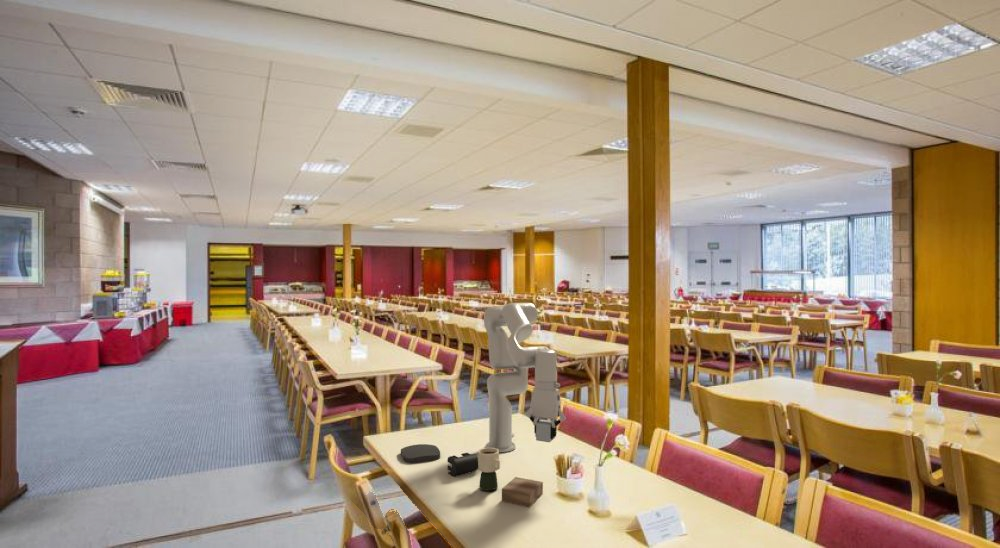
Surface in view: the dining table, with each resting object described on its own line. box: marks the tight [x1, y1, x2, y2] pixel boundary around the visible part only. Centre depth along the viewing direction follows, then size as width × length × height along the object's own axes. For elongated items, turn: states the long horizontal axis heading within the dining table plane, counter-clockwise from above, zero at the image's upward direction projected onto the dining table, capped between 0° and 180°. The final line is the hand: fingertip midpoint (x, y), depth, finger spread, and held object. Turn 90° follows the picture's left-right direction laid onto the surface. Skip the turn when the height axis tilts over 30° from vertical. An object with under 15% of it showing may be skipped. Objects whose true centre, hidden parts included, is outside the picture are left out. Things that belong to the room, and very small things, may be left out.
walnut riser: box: [501, 476, 544, 508], centre depth 174 cm, size 11×10×4 cm
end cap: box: [446, 452, 479, 478], centre depth 195 cm, size 10×7×7 cm
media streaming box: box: [400, 443, 441, 464], centre depth 214 cm, size 15×15×3 cm
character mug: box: [477, 447, 501, 491], centre depth 181 cm, size 11×7×13 cm, turn 43°
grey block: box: [535, 419, 554, 443], centre depth 185 cm, size 5×5×6 cm
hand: (545, 436), depth 185 cm, fingers closed on grey block, 5 cm apart
